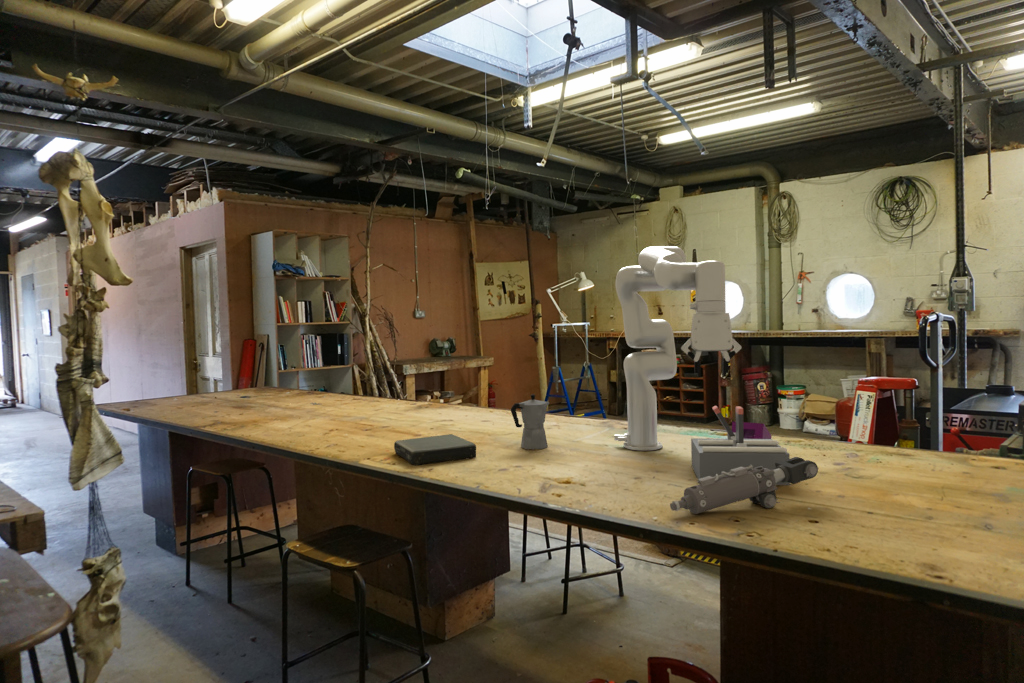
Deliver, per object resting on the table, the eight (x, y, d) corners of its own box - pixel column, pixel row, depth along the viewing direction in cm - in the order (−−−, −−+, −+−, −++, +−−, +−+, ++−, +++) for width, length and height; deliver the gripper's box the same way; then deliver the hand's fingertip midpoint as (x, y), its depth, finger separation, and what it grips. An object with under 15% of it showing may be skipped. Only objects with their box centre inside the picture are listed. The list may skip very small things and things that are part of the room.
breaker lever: (738, 448, 164) (738, 408, 164) (736, 445, 168) (735, 406, 168) (743, 448, 164) (743, 408, 163) (740, 445, 168) (740, 406, 167)
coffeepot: (542, 442, 221) (541, 391, 220) (558, 446, 213) (556, 393, 212) (504, 448, 213) (503, 395, 212) (519, 452, 205) (518, 398, 204)
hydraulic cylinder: (824, 493, 144) (818, 451, 143) (684, 537, 135) (676, 492, 134) (801, 485, 151) (795, 445, 150) (667, 526, 142) (660, 484, 141)
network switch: (483, 457, 201) (483, 442, 201) (417, 469, 188) (416, 452, 188) (448, 446, 220) (448, 432, 220) (386, 456, 207) (385, 441, 207)
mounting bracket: (742, 461, 210) (729, 447, 196) (744, 436, 213) (732, 421, 199) (772, 464, 205) (761, 450, 191) (774, 439, 208) (763, 423, 194)
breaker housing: (699, 483, 163) (698, 414, 162) (691, 465, 181) (690, 404, 181) (789, 485, 159) (789, 414, 158) (771, 466, 178) (771, 403, 177)
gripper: (678, 308, 163) (679, 377, 164) (747, 307, 160) (748, 377, 161) (675, 309, 171) (676, 375, 172) (741, 307, 168) (742, 374, 169)
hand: (711, 375), depth 166 cm, fingers open, 5 cm apart
